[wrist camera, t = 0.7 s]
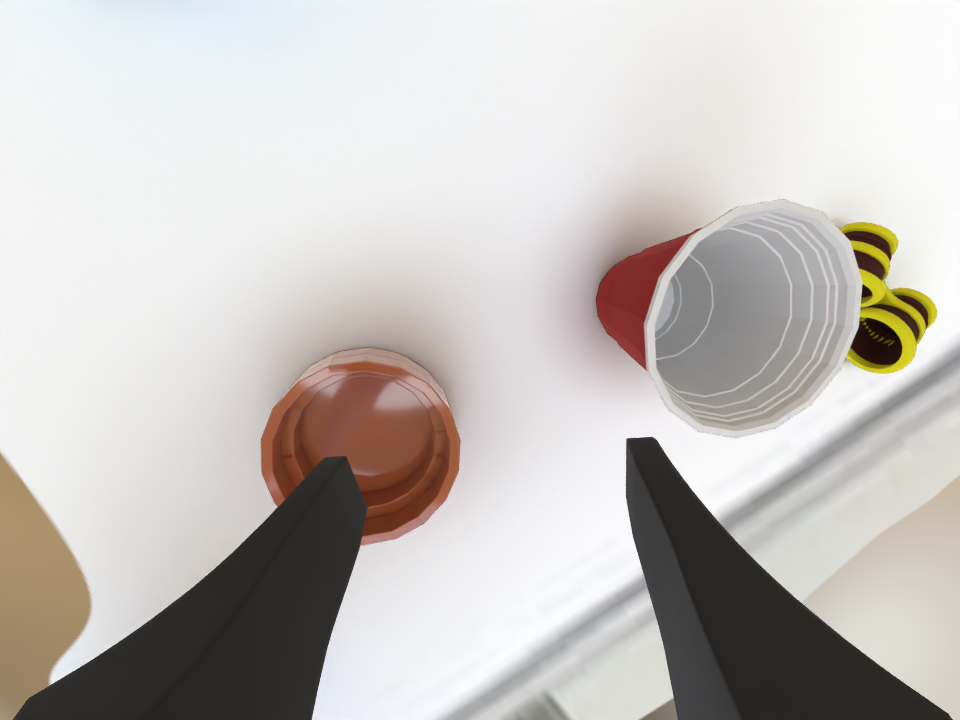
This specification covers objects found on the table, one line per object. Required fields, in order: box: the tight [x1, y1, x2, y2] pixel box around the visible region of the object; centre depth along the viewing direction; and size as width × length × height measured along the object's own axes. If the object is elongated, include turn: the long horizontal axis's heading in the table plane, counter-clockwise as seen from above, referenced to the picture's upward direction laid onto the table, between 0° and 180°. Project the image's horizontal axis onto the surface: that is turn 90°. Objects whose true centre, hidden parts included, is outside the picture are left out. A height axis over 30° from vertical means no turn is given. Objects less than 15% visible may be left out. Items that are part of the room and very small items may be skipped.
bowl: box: [261, 348, 460, 545], centre depth 30 cm, size 11×11×5 cm
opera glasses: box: [840, 222, 937, 374], centre depth 34 cm, size 10×5×5 cm, turn 41°
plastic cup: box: [596, 199, 863, 438], centre depth 27 cm, size 11×11×12 cm
